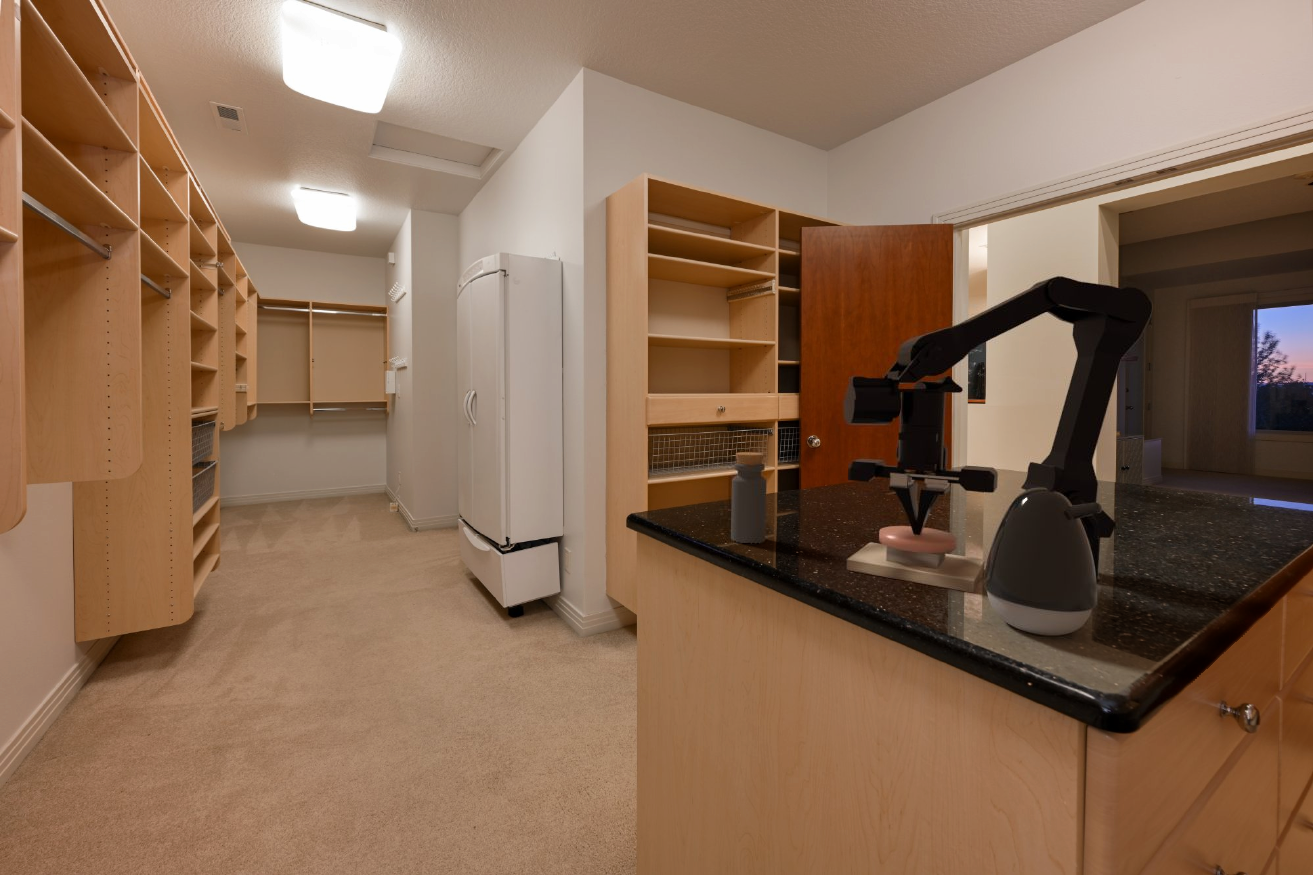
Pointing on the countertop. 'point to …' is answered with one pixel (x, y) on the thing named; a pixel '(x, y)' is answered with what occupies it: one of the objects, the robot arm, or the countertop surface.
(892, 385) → the robot arm
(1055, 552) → the pump dispenser
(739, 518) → the bottle
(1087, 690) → the countertop surface
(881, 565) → the button base
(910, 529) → the button
